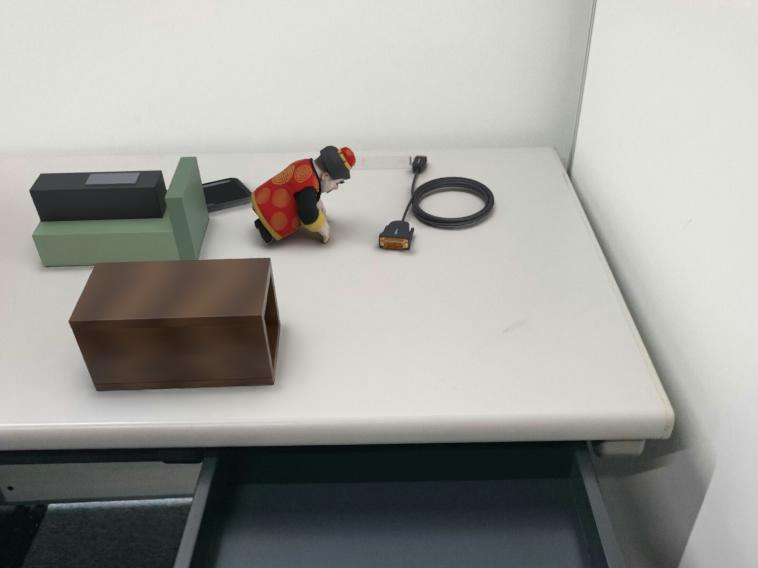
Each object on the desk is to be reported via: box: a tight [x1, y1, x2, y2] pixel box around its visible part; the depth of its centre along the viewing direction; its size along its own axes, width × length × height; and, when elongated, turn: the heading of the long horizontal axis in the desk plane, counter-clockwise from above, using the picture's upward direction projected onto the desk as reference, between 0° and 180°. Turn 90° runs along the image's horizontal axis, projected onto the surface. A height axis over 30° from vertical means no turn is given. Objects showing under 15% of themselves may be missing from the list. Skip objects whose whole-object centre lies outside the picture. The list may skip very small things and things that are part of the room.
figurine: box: [251, 145, 357, 245], centre depth 93 cm, size 10×10×15 cm
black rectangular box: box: [28, 169, 168, 222], centre depth 90 cm, size 15×5×4 cm, turn 93°
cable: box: [378, 154, 496, 250], centre depth 100 cm, size 14×28×2 cm, turn 169°
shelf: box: [68, 257, 282, 392], centre depth 74 cm, size 18×11×8 cm, turn 93°
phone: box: [202, 177, 253, 214], centre depth 102 cm, size 8×1×15 cm
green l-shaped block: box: [31, 156, 210, 267], centre depth 92 cm, size 19×12×8 cm, turn 93°
